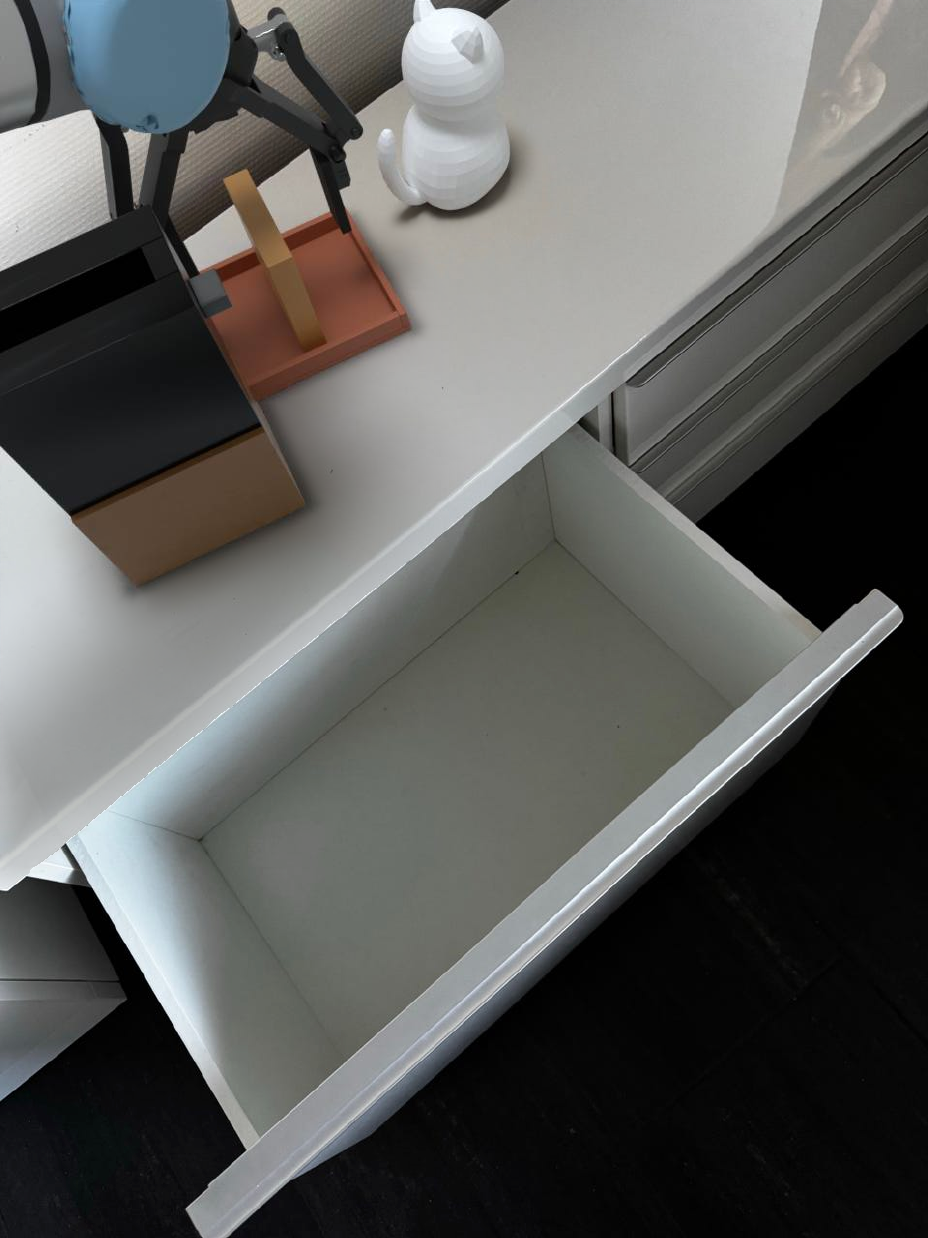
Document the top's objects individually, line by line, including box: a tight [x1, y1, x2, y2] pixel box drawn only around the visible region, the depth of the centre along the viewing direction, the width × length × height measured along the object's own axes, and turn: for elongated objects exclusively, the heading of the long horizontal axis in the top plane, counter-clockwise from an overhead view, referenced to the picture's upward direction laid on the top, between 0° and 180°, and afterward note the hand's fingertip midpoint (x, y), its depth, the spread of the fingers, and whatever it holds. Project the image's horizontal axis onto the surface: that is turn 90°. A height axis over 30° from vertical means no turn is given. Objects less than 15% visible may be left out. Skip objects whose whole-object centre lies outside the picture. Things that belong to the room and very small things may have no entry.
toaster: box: [0, 204, 307, 587], centre depth 69 cm, size 16×10×22 cm, turn 115°
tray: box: [198, 206, 412, 402], centre depth 84 cm, size 15×13×2 cm
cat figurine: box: [376, 0, 511, 211], centre depth 82 cm, size 9×12×15 cm
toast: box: [222, 168, 327, 353], centre depth 80 cm, size 10×2×10 cm, turn 25°
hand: (271, 253), depth 79 cm, fingers open, 11 cm apart
